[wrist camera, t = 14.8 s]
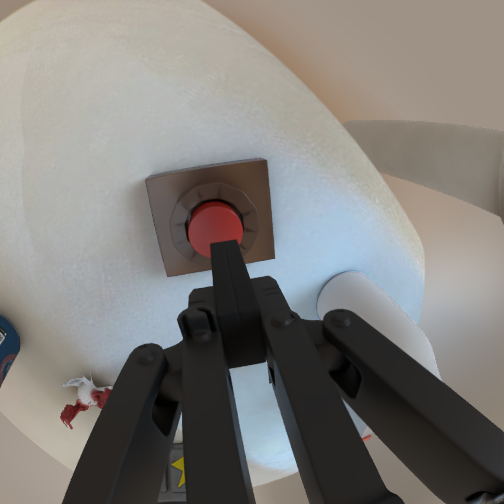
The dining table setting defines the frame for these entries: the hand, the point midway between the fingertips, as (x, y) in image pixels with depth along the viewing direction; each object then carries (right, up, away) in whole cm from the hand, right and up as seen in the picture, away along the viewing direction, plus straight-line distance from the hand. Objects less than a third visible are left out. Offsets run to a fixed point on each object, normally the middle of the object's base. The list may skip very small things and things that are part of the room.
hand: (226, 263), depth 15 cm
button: (-2, +3, +6) cm, 7 cm away
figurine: (-21, -19, +16) cm, 32 cm away
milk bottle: (+12, -5, +16) cm, 21 cm away
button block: (-2, +4, +9) cm, 10 cm away
